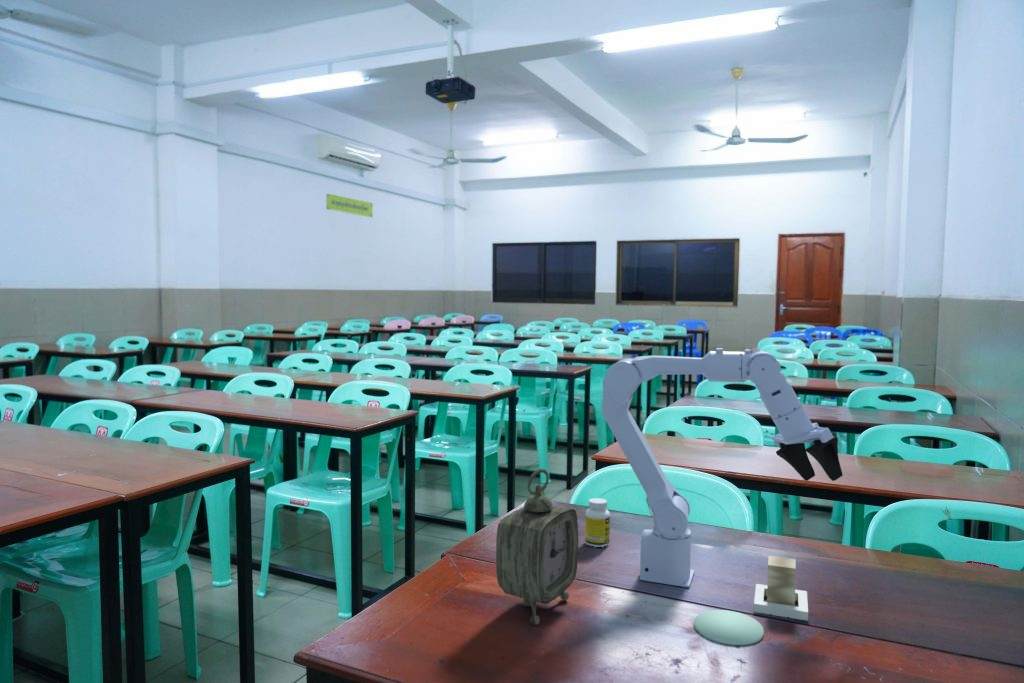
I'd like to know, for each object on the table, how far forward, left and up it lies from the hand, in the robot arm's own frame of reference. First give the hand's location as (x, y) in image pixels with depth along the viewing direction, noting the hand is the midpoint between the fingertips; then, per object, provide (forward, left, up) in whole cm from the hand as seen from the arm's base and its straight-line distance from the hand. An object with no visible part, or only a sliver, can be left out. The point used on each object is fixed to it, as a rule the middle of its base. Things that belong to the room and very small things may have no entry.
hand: (823, 478), depth 123 cm
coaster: (-15, -19, -22) cm, 33 cm away
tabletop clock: (-47, -24, -22) cm, 57 cm away
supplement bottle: (-45, +10, -22) cm, 51 cm away
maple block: (-7, -7, -22) cm, 24 cm away
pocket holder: (-7, -7, -22) cm, 24 cm away
